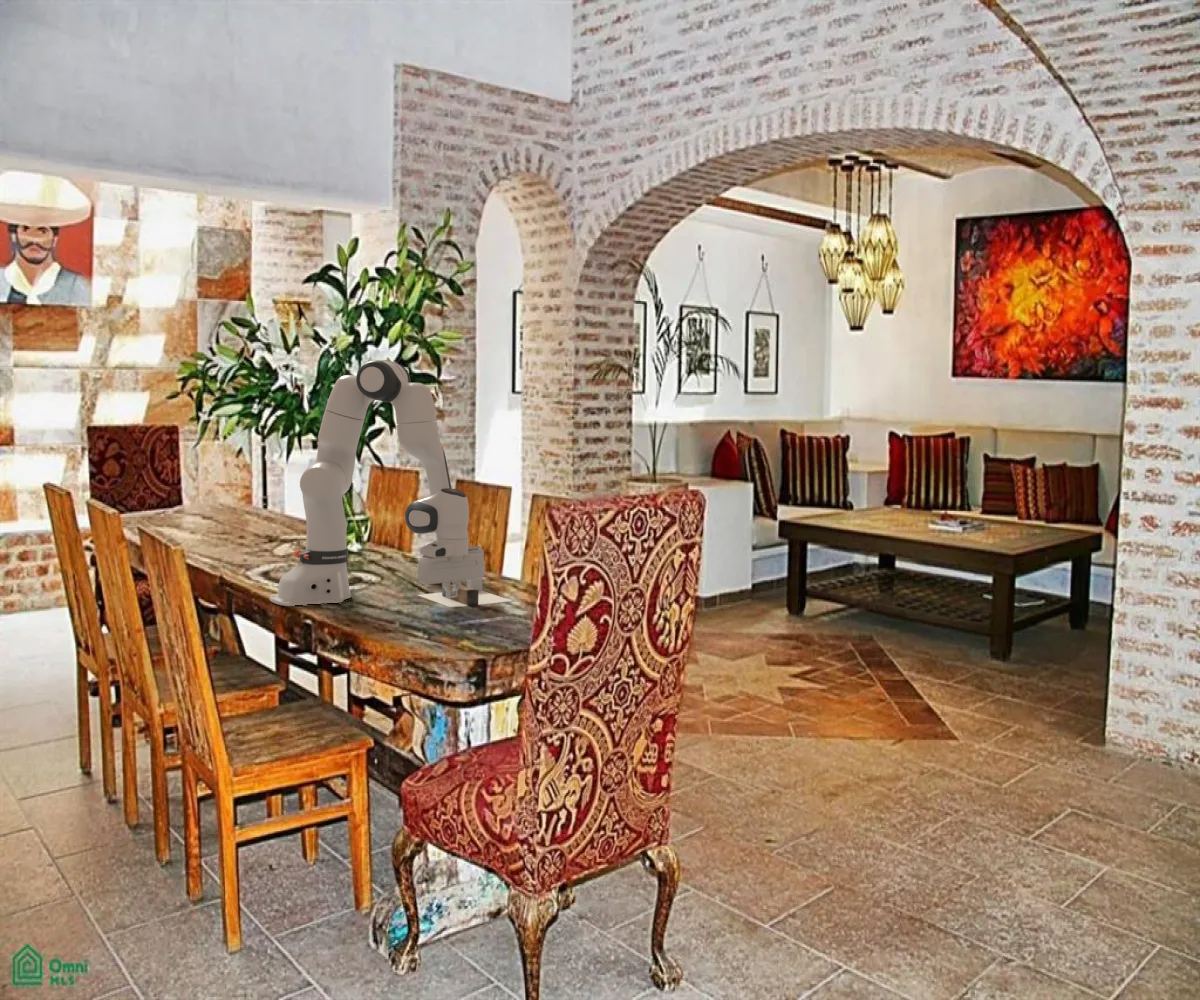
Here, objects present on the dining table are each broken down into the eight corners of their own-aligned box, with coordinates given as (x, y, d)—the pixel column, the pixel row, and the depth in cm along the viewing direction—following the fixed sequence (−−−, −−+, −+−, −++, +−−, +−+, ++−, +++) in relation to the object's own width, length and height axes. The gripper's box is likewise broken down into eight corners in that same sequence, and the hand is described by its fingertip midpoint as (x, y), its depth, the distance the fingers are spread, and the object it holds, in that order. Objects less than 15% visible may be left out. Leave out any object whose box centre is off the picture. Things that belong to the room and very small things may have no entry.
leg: (445, 597, 321) (445, 583, 321) (455, 596, 323) (455, 582, 323) (470, 606, 310) (470, 592, 310) (480, 605, 312) (480, 591, 311)
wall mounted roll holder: (451, 610, 308) (451, 582, 307) (416, 597, 324) (417, 571, 323) (512, 603, 320) (513, 576, 319) (476, 591, 336) (477, 566, 335)
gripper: (477, 543, 319) (476, 591, 320) (414, 548, 305) (414, 598, 307) (489, 546, 314) (488, 595, 315) (427, 552, 301) (426, 602, 302)
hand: (451, 597), depth 311 cm, fingers closed
